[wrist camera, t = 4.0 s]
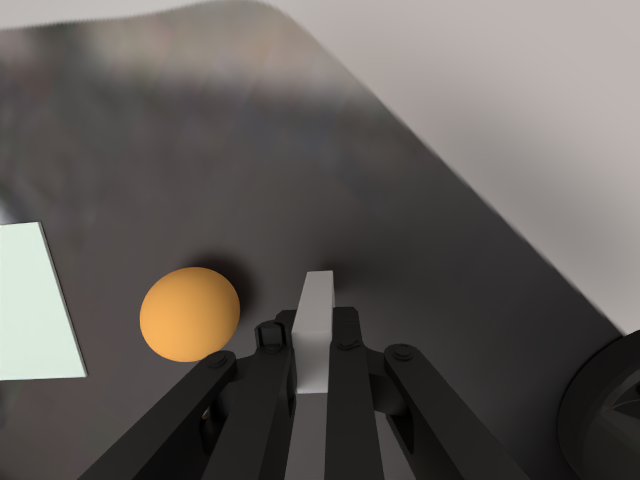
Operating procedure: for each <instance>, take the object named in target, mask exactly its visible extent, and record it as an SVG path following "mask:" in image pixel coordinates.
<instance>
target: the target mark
mask: <svg viewBox="0 0 640 480" xmlns="http://www.w3.org/2000/svg"><path fill="white" fill-rule="evenodd" d="M87 375H88V374H87V371H86V368H85V364H84V361H83V358H82V355H81V351H80V348H79V345H78V342H77V338H76V335H75V332H74V329H73V325H72V322H71V319H70V316H69V313H68V309H67V306H66V303H65V300H64V296H63V293H62V290H61V287H60V283H59V280H58V277H57V274H56V271H55V267H54V264H53V261H52V258H51V254H50V251H49V248H48V245H47V241H46V238H45V235H44V232H43V228H42V225H41V222H32V223H20V224H9V225H0V380H15V379H41V378H66V377H86V376H87Z"/></svg>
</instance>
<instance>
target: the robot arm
mask: <svg viewBox="0 0 640 480" xmlns="http://www.w3.org/2000/svg"><path fill="white" fill-rule="evenodd" d="M254 330H255V337H256V345H257V349H256V352H255V354H253V355H251V356H248V357H244V358H240V359H236V356H235V354H234V353H233V352H231V351H228V350H225V351H216V352H214V353H211V354H209V355H207V356H206V357H205V358H203V359H202V360H201V361H200V362H199V363H198V364H197V365H196V366H195V367H194V368H193V369H192V370H191V371H190V372H189V373H187V374H186V375H185V376H184V377H183V378H182V379H181V380H180V381H179V382H178V383H177V384H176V385H175V386H174V387H173V388H172V389H171V390H170V391H169V392H168V393H167V394H166V395H165V396H164V397H162V398H161V399H160V400H159V401H158V402H157V403H156V404H155V405H154V406H153V407H152V408H151V409H150V410H149V411H148V412H147V413H146V414H145V415H144V416H143V417H142V418H141V419H140V420H139V421H137V422H136V423H135V424H134V425H133V426H132V427H131V428H130V429H129V430H128V431H127V432H126V433H125V434H124V435H123V436H122V437H121V438H120V439H119V440H118V441H117V442H116V443H115V444H114V445H112V446H111V447H110V448H109V449H108V450H107V451H106V452H105V453H104V454H103V455H102V456H101V457H100V458H99V459H98V460H97V461H96V462H95V463H94V464H93V465H92V466H91V467H90V468H89V469H87V470H86V471H85V472H84V473H83V474H82V475H81V476H80V477H79V478H78V479H77V480H284V477H285V471H286V465H287V459H288V453H289V446H290V440H291V434H292V428H293V422H294V415H295V409H296V394H295V391H296V385H297V390H298V393H328V399H327V424H326V449H325V475H324V480H384V473H383V466H382V460H381V453H380V447H379V440H378V433H377V427H376V420H375V413H374V410H375V411H379V412H383V413H385V415H386V419H387V421H388V423H389V425H390V427H391V429H392V431H393V433H394V435H395V437H396V439H397V441H398V443H399V445H400V447H401V449H402V451H403V453H404V455H405V457H406V459H407V461H408V463H409V465H410V467H411V469H412V471H413V473H414V475H415V477H416V479H417V480H531V479H530V478H529V477H528V476H527V474H526V473H525V472H524V471H523V470H522V469H521V467H520V466H519V465H518V464H517V463H516V462H515V461H514V459H513V458H512V457H511V456H510V455H509V454H508V452H507V451H506V450H505V449H504V448H503V447H502V446H501V444H500V443H499V442H498V441H497V440H496V439H495V437H494V436H493V435H492V434H491V433H490V432H489V430H488V429H487V428H486V427H485V426H484V425H483V424H482V422H481V421H480V420H479V419H478V418H477V417H476V415H475V414H474V413H473V412H472V411H471V410H470V408H469V407H468V406H467V405H466V404H465V403H464V402H463V400H462V399H461V398H460V397H459V396H458V395H457V393H456V392H455V391H454V390H453V389H452V388H451V387H450V385H449V384H448V383H447V382H446V381H445V380H444V378H443V377H442V376H441V375H440V374H439V373H438V371H437V370H436V369H435V368H434V367H433V366H432V365H431V363H430V362H429V361H428V360H427V359H426V358H425V356H424V355H423V354H422V353H421V352H420V351H419V350H418V349H417V348H415V347H413V346H411V345H407V344H394V345H390V346H388V347H387V348H386V349H385V351H384V353H382V352H377V351H373V350H371V349H369V348H367V347H366V346H365V345H364V343H363V341H362V336H361V329H360V323H359V316H358V311H357V310H356V309H355V308H354V307H335V298H334V283H333V271H315V272H307V276H306V279H305V283H304V287H303V291H302V294H301V298H300V302H299V306H298V310H282V311H281V312H280V313H279V314H278V315H276V318H275V320H270V321H266V322H263V323H261V324H259V325H258V326H257V327H256V328H255V329H254ZM206 410H207V413H206V414H205V415H204V416H203V414H204V412H205V411H206ZM202 416H203V417H202ZM557 431H558V440H559V444H560V447H561V450H562V453H563V455H564V457H565V459H566V461H567V462H568V464H569V465H570V467H571V468H572V469H573V471H574V472H575V473H576V474H577V476H578V477H579V478H580V480H640V330H638V331H635V332H633V333H631V334H629V335H627V336H625V337H623V338H621V339H619V340H618V341H616V342H614V343H613V344H611V345H610V346H608V347H607V348H605V349H604V350H602V351H601V352H600V353H599V354H597V355H596V356H595V357H594V358H593V359H592V360H591V361H589V362H588V363H587V365H586V366H585V367H584V368H583V369H582V370H581V371H580V372H579V373H578V375H577V376H576V377H575V379H574V380H573V382H572V383H571V385H570V386H569V388H568V390H567V392H566V394H565V396H564V398H563V401H562V404H561V407H560V411H559V415H558V424H557Z"/></svg>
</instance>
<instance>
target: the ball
mask: <svg viewBox="0 0 640 480" xmlns="http://www.w3.org/2000/svg"><path fill="white" fill-rule="evenodd" d="M239 317H240V303H239V298H238V296H237V293H236V291H235V289H234V287H233V286H232V284H231V283H230V282H229V281H228V280H227V279H226V278H225V277H224V276H222V275H221V274H219V273H217V272H215V271H213V270H210V269H206V268H201V267H189V268H183V269H179V270H176V271H174V272H171V273H169V274H167V275H166V276H164V277H163V278H161V279H160V280H159V281H158V282H156V283H155V285H154V286H153V287H152V288H151V289H150V290H149V292H148V294H147V295H146V297H145V299H144V301H143V304H142V307H141V311H140V326H141V330H142V334H143V336H144V338H145V340H146V342H147V343H148V345H149V346H150V347H151V348H152V349H153V350H154V351H155V352H156V353H158V354H159V355H161V356H163V357H165V358H167V359H170V360H174V361H179V362H190V361H197V360H201V359H203V358H205V357H206V356H207V355H209V354H211V353H214V352H216V351H219V350H220V349H221V348H222V347H223V346H224V345H225V344H226V343H227V342H228V341H229V340H230V338H231V337H232V336H233V334H234V332H235V330H236V328H237V325H238V322H239Z"/></svg>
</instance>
